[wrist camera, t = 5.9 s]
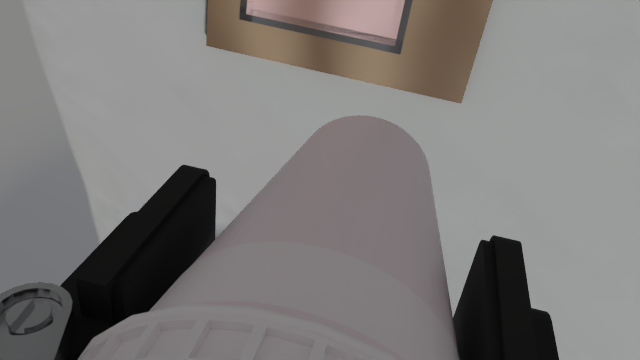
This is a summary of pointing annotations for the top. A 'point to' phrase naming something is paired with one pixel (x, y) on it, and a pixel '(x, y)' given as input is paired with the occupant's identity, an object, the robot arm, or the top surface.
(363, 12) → the picture board
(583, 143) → the top surface
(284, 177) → the smoothie
